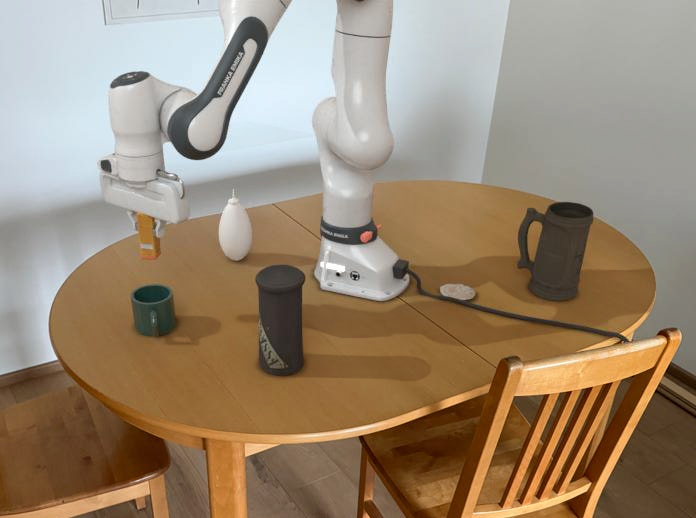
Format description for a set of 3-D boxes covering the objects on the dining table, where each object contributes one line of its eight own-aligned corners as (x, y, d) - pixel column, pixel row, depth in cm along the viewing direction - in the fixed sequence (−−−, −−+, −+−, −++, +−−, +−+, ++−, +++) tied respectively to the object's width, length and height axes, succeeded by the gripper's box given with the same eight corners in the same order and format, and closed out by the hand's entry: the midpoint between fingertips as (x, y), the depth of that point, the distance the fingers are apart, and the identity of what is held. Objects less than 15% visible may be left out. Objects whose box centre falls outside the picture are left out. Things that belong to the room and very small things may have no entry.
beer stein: (583, 285, 165) (597, 202, 154) (577, 305, 157) (591, 220, 146) (515, 275, 171) (525, 195, 160) (506, 295, 163) (515, 212, 152)
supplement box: (156, 261, 143) (151, 214, 137) (140, 259, 143) (134, 212, 138) (162, 253, 145) (157, 207, 140) (147, 252, 146) (141, 206, 140)
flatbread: (476, 288, 163) (477, 285, 162) (473, 304, 157) (473, 300, 157) (441, 283, 165) (441, 279, 164) (436, 298, 159) (436, 294, 159)
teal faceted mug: (135, 317, 152) (130, 285, 148) (174, 313, 153) (171, 282, 149) (135, 346, 142) (130, 314, 138) (178, 342, 144) (174, 310, 140)
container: (257, 352, 141) (254, 261, 130) (302, 350, 142) (303, 260, 130) (258, 378, 134) (255, 284, 123) (306, 376, 134) (307, 282, 123)
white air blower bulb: (239, 269, 170) (236, 197, 160) (214, 260, 174) (209, 190, 164) (259, 257, 176) (257, 187, 166) (234, 249, 179) (230, 180, 169)
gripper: (194, 171, 131) (199, 240, 139) (114, 150, 140) (124, 216, 148) (170, 181, 127) (177, 252, 135) (90, 159, 136) (101, 226, 144)
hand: (149, 233), depth 141 cm, fingers closed on supplement box, 4 cm apart
